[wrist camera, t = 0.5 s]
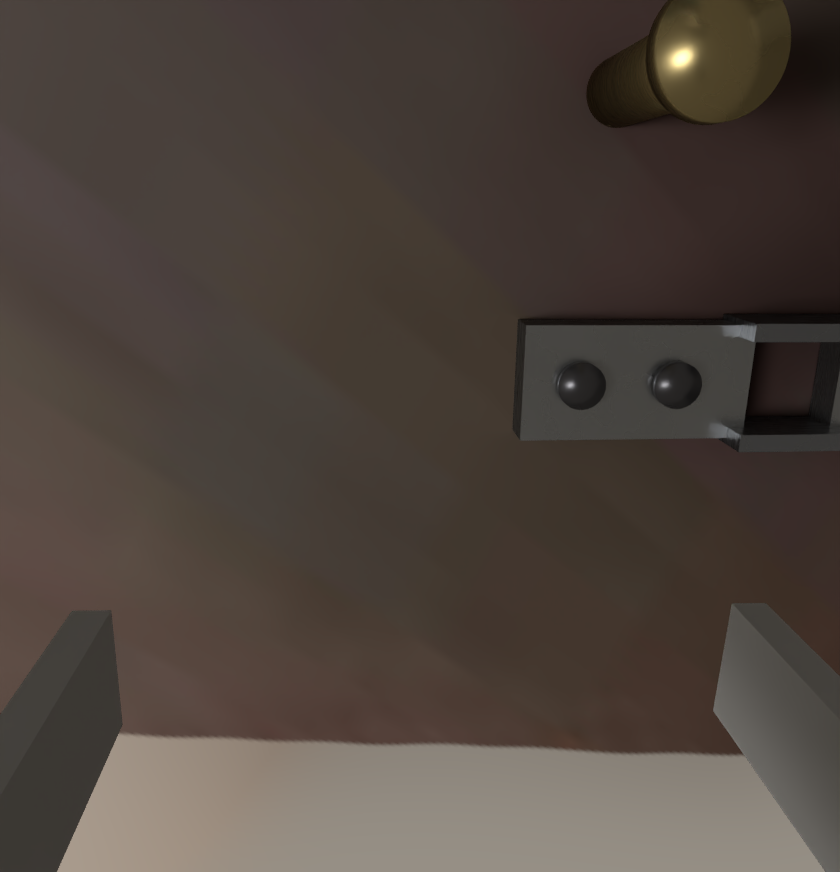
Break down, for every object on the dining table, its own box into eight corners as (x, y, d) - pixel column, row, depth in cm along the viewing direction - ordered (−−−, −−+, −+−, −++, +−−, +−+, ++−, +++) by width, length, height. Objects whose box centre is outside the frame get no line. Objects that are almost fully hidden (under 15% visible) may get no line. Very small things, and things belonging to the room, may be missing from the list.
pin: (573, 35, 36) (663, -35, 25) (672, 38, 36) (801, -29, 26) (566, 144, 37) (649, 120, 27) (661, 146, 37) (779, 123, 27)
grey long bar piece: (512, 434, 41) (525, 455, 38) (518, 313, 39) (533, 323, 36) (1004, 428, 44) (1058, 447, 40) (1033, 314, 42) (1092, 323, 38)
